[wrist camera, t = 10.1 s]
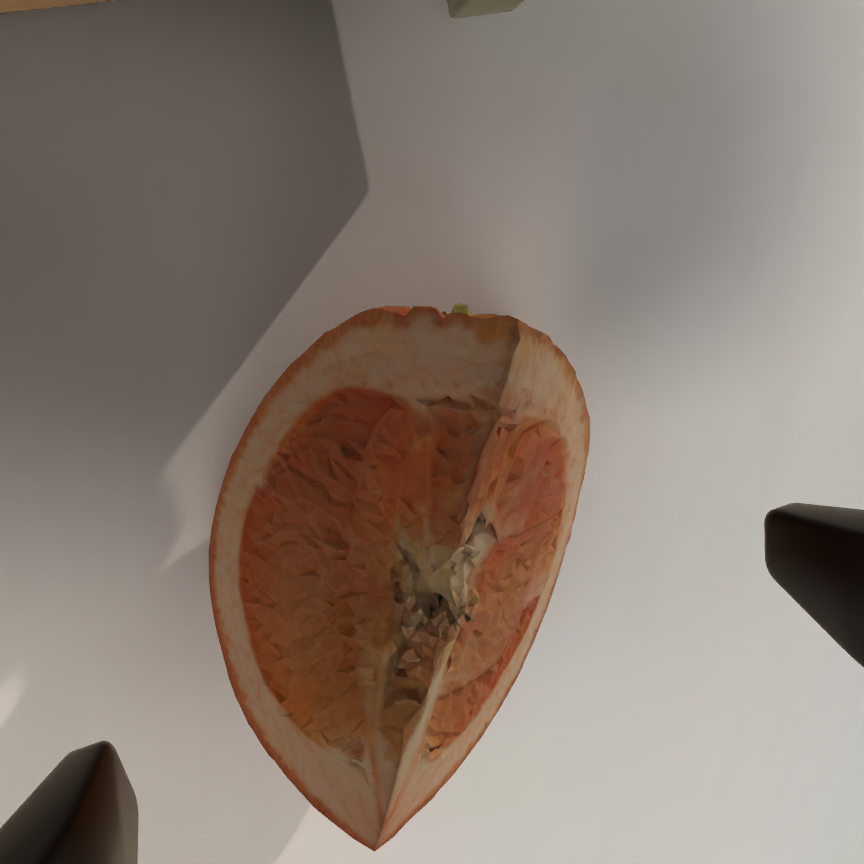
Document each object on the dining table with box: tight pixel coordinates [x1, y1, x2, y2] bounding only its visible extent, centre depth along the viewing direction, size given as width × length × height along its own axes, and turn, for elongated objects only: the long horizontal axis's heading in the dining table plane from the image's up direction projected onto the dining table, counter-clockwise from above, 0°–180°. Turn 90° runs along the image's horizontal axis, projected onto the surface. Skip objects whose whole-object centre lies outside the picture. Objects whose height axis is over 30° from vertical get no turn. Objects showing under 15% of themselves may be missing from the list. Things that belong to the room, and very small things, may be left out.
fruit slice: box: [209, 304, 590, 851], centre depth 11 cm, size 8×7×5 cm
